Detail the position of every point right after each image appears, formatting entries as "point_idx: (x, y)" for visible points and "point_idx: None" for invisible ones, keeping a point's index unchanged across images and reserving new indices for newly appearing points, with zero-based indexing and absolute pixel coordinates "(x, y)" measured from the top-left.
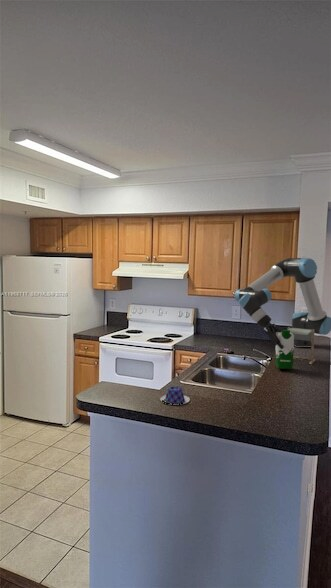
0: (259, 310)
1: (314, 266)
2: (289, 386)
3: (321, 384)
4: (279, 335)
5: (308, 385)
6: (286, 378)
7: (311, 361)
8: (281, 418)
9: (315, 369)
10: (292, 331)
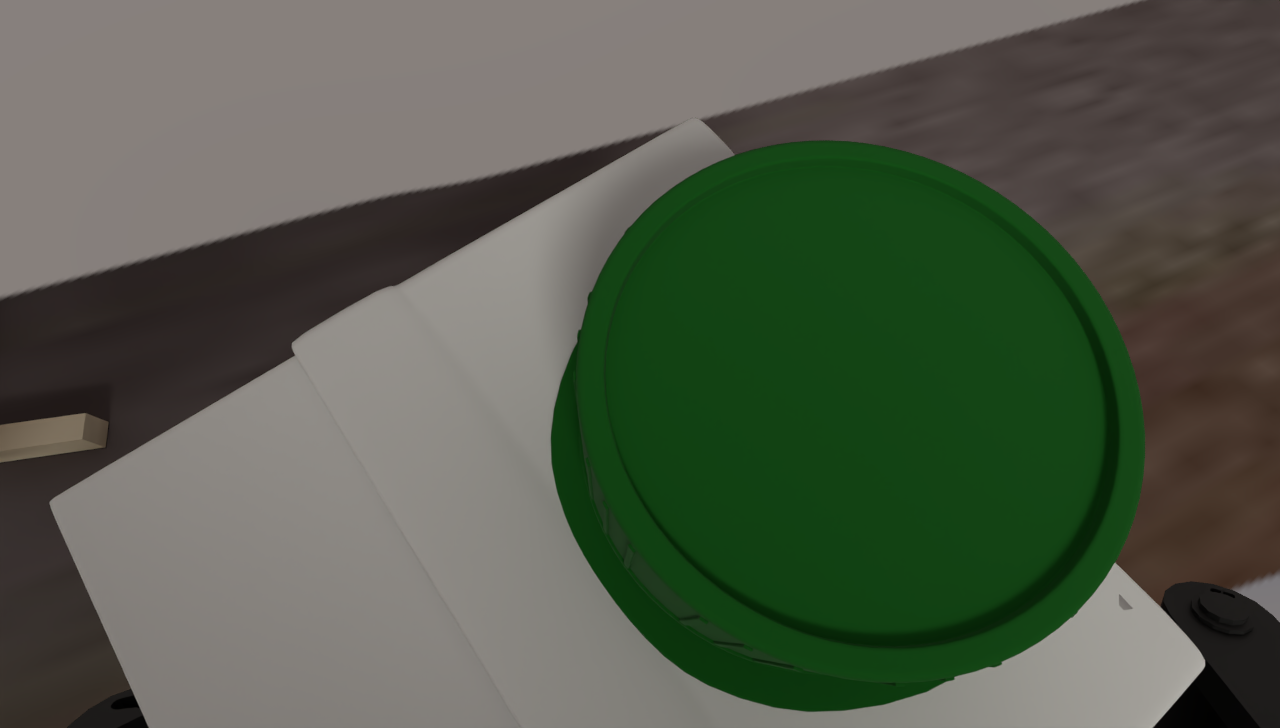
0: None
1: None
2: (1182, 268)
3: (862, 90)
4: (1176, 634)
5: (991, 158)
6: None
7: (8, 432)
8: None
9: (335, 299)
10: None
